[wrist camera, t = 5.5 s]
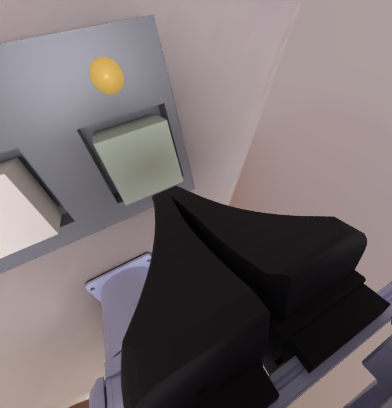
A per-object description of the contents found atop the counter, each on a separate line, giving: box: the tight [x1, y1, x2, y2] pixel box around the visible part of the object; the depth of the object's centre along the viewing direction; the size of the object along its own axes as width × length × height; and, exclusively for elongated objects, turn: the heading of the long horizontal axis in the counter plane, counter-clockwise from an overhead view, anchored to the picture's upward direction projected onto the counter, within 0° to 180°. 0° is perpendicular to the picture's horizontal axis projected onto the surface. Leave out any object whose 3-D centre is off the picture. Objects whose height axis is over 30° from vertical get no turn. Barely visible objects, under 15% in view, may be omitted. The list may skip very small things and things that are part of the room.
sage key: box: [92, 114, 183, 205], centre depth 16 cm, size 5×5×3 cm
